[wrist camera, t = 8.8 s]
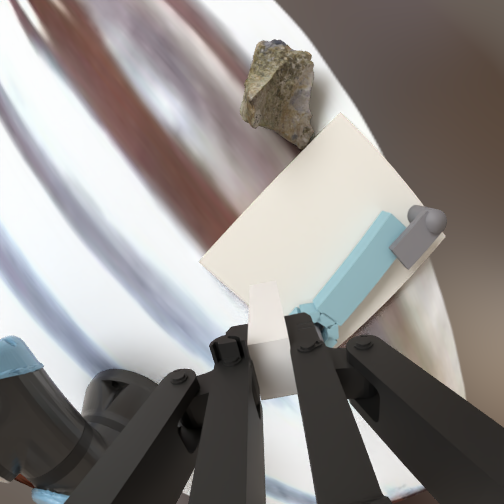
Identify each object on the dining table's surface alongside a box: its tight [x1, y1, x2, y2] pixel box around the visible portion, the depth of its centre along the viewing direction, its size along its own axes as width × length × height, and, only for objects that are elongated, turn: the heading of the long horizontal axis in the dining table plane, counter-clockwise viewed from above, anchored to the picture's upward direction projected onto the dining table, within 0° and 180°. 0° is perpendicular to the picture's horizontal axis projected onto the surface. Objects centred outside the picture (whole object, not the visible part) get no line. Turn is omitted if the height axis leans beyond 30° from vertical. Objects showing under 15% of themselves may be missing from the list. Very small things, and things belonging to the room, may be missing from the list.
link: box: [289, 211, 406, 348], centre depth 31 cm, size 18×6×2 cm, turn 144°
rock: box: [240, 40, 314, 150], centre depth 27 cm, size 11×6×10 cm
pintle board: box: [199, 113, 447, 348], centre depth 30 cm, size 22×19×6 cm
